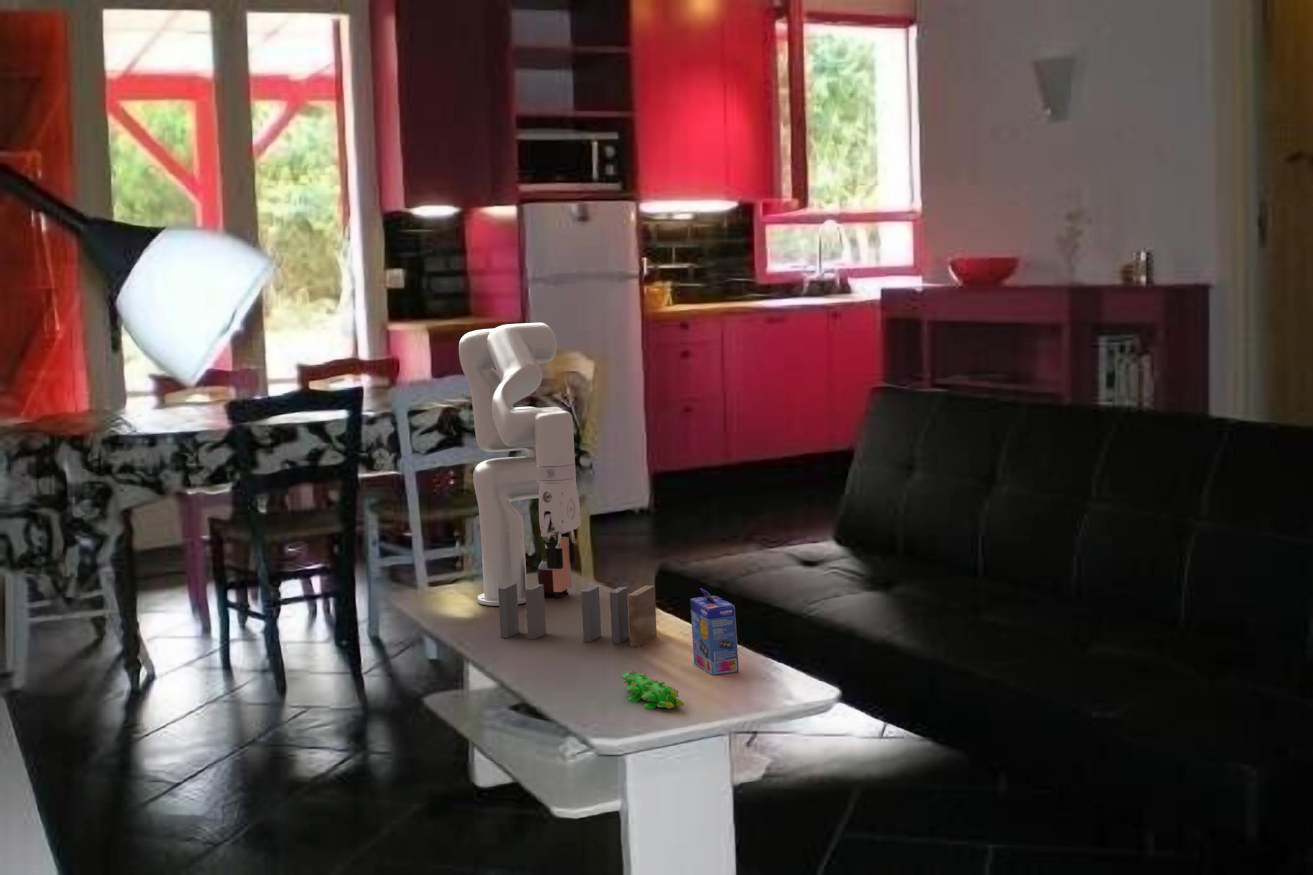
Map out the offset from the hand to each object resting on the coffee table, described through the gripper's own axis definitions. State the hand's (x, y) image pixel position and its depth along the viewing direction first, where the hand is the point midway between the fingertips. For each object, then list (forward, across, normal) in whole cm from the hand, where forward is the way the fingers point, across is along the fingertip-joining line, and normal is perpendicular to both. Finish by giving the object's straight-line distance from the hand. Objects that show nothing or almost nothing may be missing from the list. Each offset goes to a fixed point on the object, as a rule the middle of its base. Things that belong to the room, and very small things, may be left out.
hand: (561, 564), depth 310 cm
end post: (+15, 0, -16) cm, 22 cm away
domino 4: (+15, 0, -6) cm, 16 cm away
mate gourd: (+14, +36, +18) cm, 43 cm away
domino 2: (+15, 0, +6) cm, 16 cm away
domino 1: (+15, 0, +12) cm, 19 cm away
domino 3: (+5, 0, 0) cm, 5 cm away
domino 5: (+15, 0, -12) cm, 19 cm away
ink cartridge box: (+15, -16, -37) cm, 43 cm away
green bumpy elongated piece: (+16, -39, -33) cm, 53 cm away
